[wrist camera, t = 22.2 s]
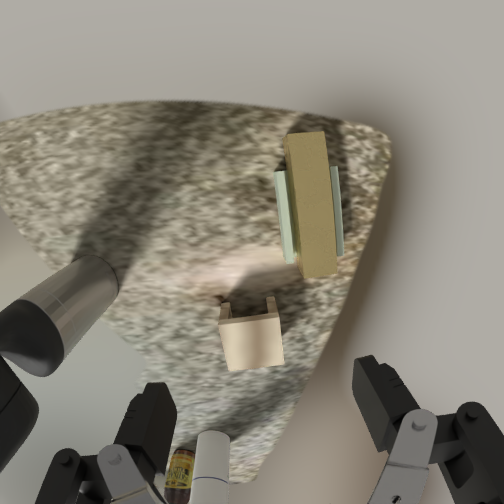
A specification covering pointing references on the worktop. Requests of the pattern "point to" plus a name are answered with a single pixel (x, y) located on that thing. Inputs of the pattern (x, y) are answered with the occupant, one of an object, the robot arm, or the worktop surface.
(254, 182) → the worktop surface
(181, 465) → the sauce bottle
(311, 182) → the long yellowish block
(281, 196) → the cradle
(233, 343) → the beige u-shaped block
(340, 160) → the worktop surface
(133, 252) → the worktop surface
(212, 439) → the cylindrical container
